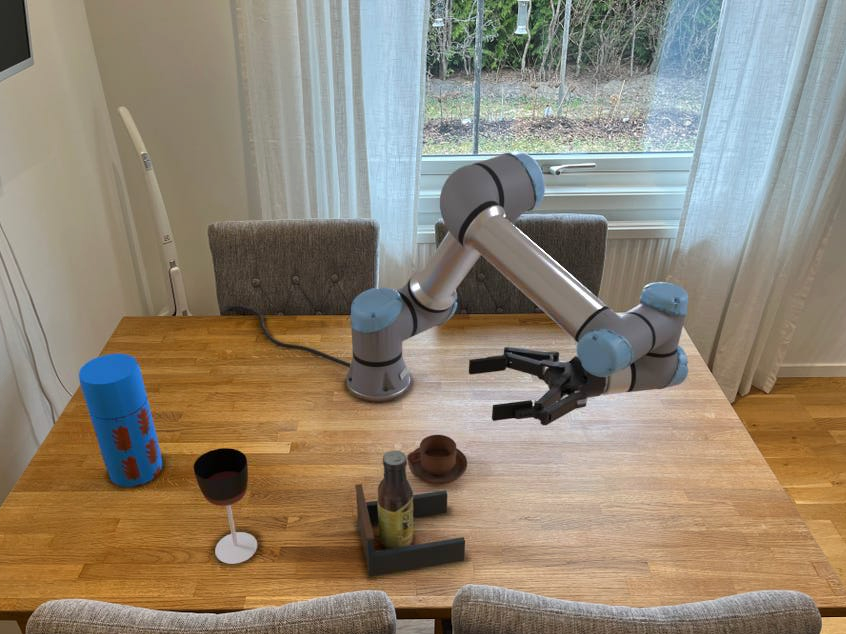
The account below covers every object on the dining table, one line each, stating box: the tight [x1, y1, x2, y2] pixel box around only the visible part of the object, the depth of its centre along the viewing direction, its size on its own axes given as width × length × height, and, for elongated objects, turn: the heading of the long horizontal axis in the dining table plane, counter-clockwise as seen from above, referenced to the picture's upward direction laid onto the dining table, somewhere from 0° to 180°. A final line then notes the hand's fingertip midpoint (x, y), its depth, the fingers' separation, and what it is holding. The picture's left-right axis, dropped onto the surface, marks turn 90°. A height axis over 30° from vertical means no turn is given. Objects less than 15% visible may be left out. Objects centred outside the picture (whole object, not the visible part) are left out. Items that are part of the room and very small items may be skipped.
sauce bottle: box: [377, 449, 414, 550], centre depth 125 cm, size 7×6×20 cm
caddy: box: [354, 483, 466, 578], centre depth 128 cm, size 17×13×10 cm
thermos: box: [78, 353, 163, 488], centre depth 141 cm, size 11×11×25 cm
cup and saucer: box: [406, 434, 468, 485], centre depth 145 cm, size 12×12×6 cm
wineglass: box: [193, 447, 258, 565], centre depth 124 cm, size 8×9×20 cm
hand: (480, 389), depth 121 cm, fingers open, 13 cm apart
